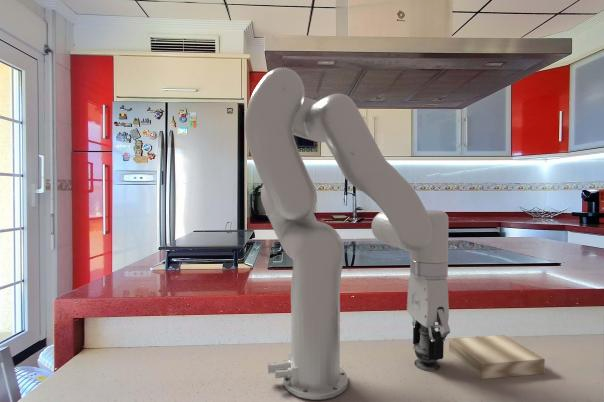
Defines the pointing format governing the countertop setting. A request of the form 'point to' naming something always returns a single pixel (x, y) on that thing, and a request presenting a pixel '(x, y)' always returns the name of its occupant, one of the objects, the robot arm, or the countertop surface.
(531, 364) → the birch base block
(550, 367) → the countertop surface
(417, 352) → the weathered stone finial
